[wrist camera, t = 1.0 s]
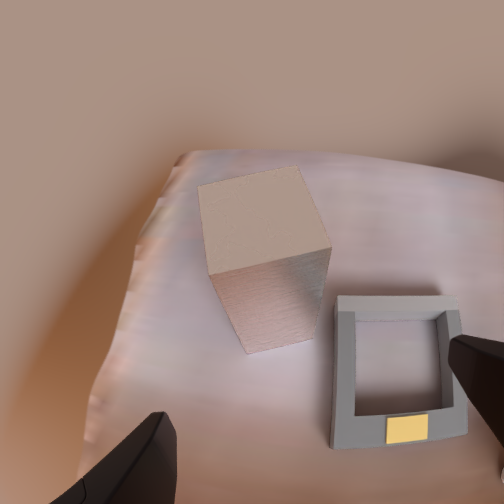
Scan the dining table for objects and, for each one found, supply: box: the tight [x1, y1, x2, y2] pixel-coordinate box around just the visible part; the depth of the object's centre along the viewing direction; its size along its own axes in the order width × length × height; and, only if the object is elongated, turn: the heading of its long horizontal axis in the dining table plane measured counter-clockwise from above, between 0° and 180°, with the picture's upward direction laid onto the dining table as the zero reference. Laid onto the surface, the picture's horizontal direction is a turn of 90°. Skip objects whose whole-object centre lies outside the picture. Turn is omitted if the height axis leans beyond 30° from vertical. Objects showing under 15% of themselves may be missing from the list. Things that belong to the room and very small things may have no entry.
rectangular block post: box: [197, 165, 332, 354], centre depth 19 cm, size 5×5×12 cm
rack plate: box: [329, 295, 468, 449], centre depth 20 cm, size 11×10×2 cm
